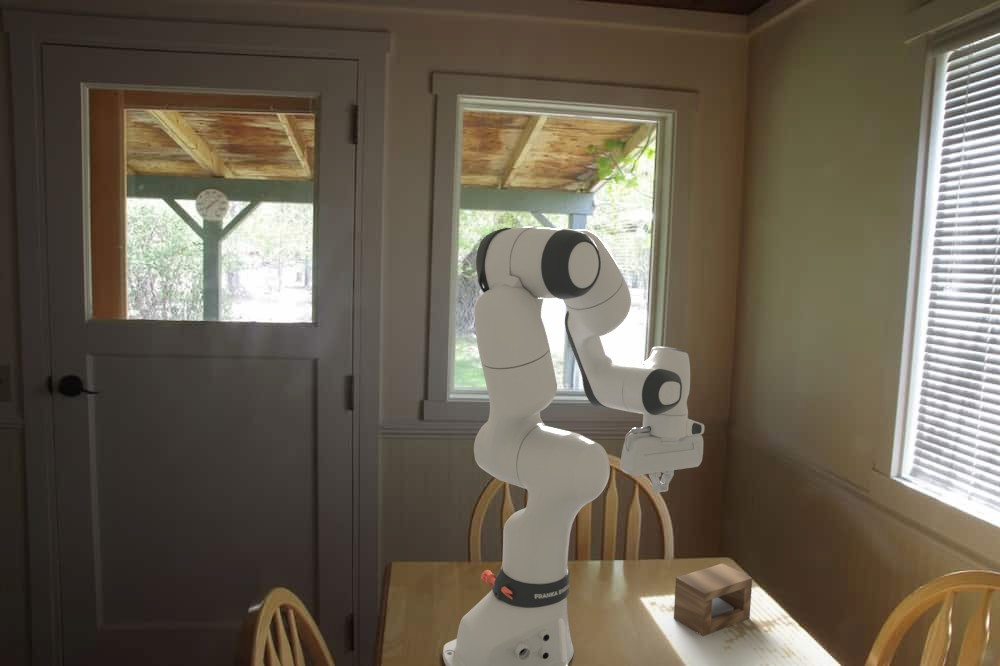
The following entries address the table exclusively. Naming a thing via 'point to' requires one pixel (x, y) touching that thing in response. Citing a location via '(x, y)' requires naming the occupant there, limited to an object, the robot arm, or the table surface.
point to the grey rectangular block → (720, 607)
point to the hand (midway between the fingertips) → (660, 491)
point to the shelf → (705, 586)
